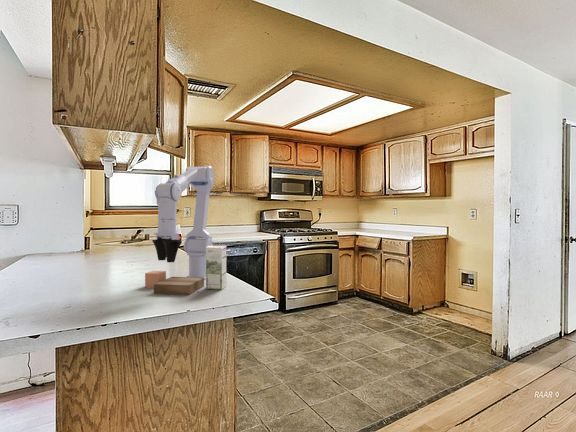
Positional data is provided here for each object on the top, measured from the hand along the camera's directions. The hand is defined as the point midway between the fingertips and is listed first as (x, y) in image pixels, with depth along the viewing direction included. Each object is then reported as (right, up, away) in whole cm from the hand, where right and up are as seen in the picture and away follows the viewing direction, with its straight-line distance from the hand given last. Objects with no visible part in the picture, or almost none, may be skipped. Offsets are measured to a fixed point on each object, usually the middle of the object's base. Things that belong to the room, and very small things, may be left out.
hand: (166, 261), depth 109 cm
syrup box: (+15, -10, +6) cm, 19 cm away
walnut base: (+4, -10, +3) cm, 11 cm away
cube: (-7, -10, +9) cm, 15 cm away
